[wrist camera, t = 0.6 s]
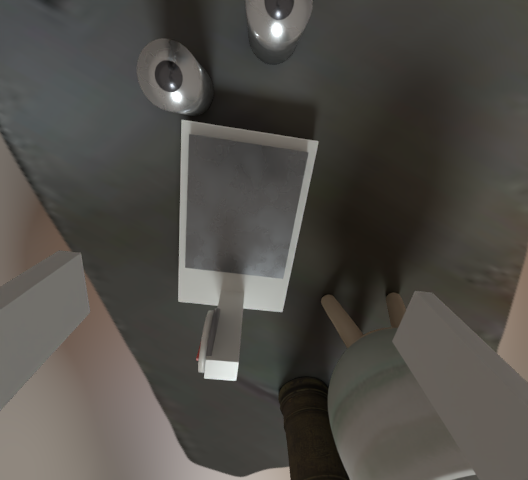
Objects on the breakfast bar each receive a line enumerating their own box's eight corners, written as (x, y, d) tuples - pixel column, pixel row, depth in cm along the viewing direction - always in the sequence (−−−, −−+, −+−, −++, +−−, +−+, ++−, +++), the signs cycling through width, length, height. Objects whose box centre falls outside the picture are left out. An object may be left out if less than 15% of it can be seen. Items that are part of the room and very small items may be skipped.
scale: (189, 120, 28) (131, 111, 15) (312, 140, 29) (357, 146, 16) (183, 300, 37) (144, 389, 24) (278, 310, 38) (288, 400, 25)
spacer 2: (251, -3, 24) (249, -52, 18) (303, 7, 25) (319, -37, 18) (245, 59, 26) (241, 36, 20) (293, 68, 26) (305, 48, 20)
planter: (291, 284, 37) (336, 480, 16) (404, 252, 35) (614, 423, 14) (317, 362, 43) (374, 576, 22) (414, 337, 41) (572, 543, 21)
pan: (190, 134, 26) (189, 134, 25) (307, 152, 27) (308, 152, 26) (186, 264, 31) (185, 267, 31) (282, 275, 32) (283, 278, 32)
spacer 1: (165, 57, 26) (135, 32, 19) (215, 66, 26) (201, 44, 20) (165, 112, 28) (138, 105, 21) (212, 119, 28) (198, 115, 22)
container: (269, 390, 45) (276, 540, 29) (312, 368, 43) (346, 514, 27) (296, 416, 48) (317, 566, 32) (338, 396, 46) (383, 544, 30)
